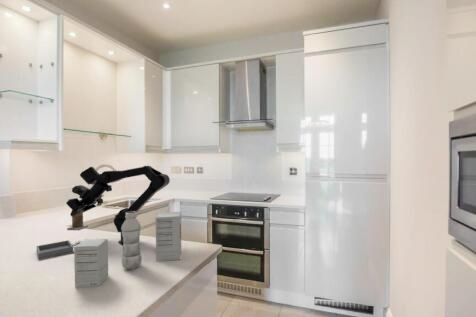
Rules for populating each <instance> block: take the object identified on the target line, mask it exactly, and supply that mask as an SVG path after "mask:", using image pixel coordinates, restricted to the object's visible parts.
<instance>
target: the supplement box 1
mask: <svg viewBox="0 0 476 317" xmlns="http://www.w3.org/2000/svg"><path fill="white" fill-rule="evenodd" d="M73 253H74V254H73V256H74V261H73V262H74V287H75V288H89V287H90V288H91V287H99V286H100V285H101V284H102V283H103V282H104V281H105V280H106V278H107V277H108V276H109V238H94V239H93V238H91V239H87V238H86V239H84V240H83V241H82V242H80V243H78V244H76V245H75V246H73Z"/></svg>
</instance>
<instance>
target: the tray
mask: <svg viewBox="0 0 476 317" xmlns="http://www.w3.org/2000/svg"><path fill="white" fill-rule="evenodd" d="M71 253H74V245H73V244H72V242H71V241H70V240H69V239H68V240H63V241H62V240H61V241H57V242H52V243H47V244H42V245H36V254H37V259H38V260H43V259H48V258H53V257H58V256H62V255H66V254H71Z"/></svg>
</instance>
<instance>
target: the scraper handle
mask: <svg viewBox="0 0 476 317" xmlns="http://www.w3.org/2000/svg"><path fill="white" fill-rule="evenodd" d="M71 222H72V223H71V226H70V227H67V228H66V231H81V230H83V229H84V230H85V229H87V228H88V227H89V225H88V224H84V212H83V211H82V212H80V213H78V214H76V215H74V216H71Z"/></svg>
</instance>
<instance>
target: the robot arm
mask: <svg viewBox="0 0 476 317" xmlns="http://www.w3.org/2000/svg"><path fill="white" fill-rule="evenodd" d="M143 175H144V176H145V177H146V178H147V179H148V181H150V182H149V185H148V187H147V188H146V189H145V190H144V191H143V193H141V195H140V196H138V198H137V199H135V200H134V201H133V203H132V204H131V205H130V206H129V207H124V208H122V209H120V210H119V211H118V213H117V214H115V215H114V218H113V224H114V226H115V228H116V230H117V233H120V240H118V242H117V243H118V244H120V245H121V246H123V236H122V231H121V227H122V224H123V223H124V221H125V220H126V218H125V215H126V214H125V213H126V212H129V211H136V212H137V213H138V212H139V211H140V210H141V209H142V208H143V207H144V206H145V205H146V204H147V203H148V201H150V200H151V198H153V196H155V194H156V193H158V192H159V191H161V190H162V189H164V188H165V187H167V186H168V185H169V184H170V181H171V180H170V176H169V175H168V174H166V173H162V172H161V171H159V170H157V169H155V168H153V167H152V166H151V165H143V166H140V167H135V168H129V169H123V170H106V171H103V172H102V173H99V172H98V171H97V170H96V169H95V167H94V166H89V167H88V168H87V169H85V170H82V172H81V173H80V174H79V177H80V178H81V179H82V180H83V181H84V182H85V183H86V184H87V185H92V186H91V187H90V188H88V187H87V186H85V185H82V184H79V185H75V186H73V187H72V189H71V191H72V193H73V194H76V195H78V196H79V197H78V198H79V199H78V198H70V199H68V200H67V201H66V202H65V204H66V205H67V206H68V207H69V209H71V212H70V214H69V215H70V217H72V216H74V215H76V214H78V213H80V212H82V211H83V213H85V212H87V211H89V210H92V209H94V208H96V207H98V206H102V204H104V199H103V196H102V195H103V194H104V193H105V192H112V191H113V189H112V185H110V184H112V183H116V182H119V181H121V180H124V179H127V178H132V177H137V176H143ZM96 203H97V204H96Z"/></svg>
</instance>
